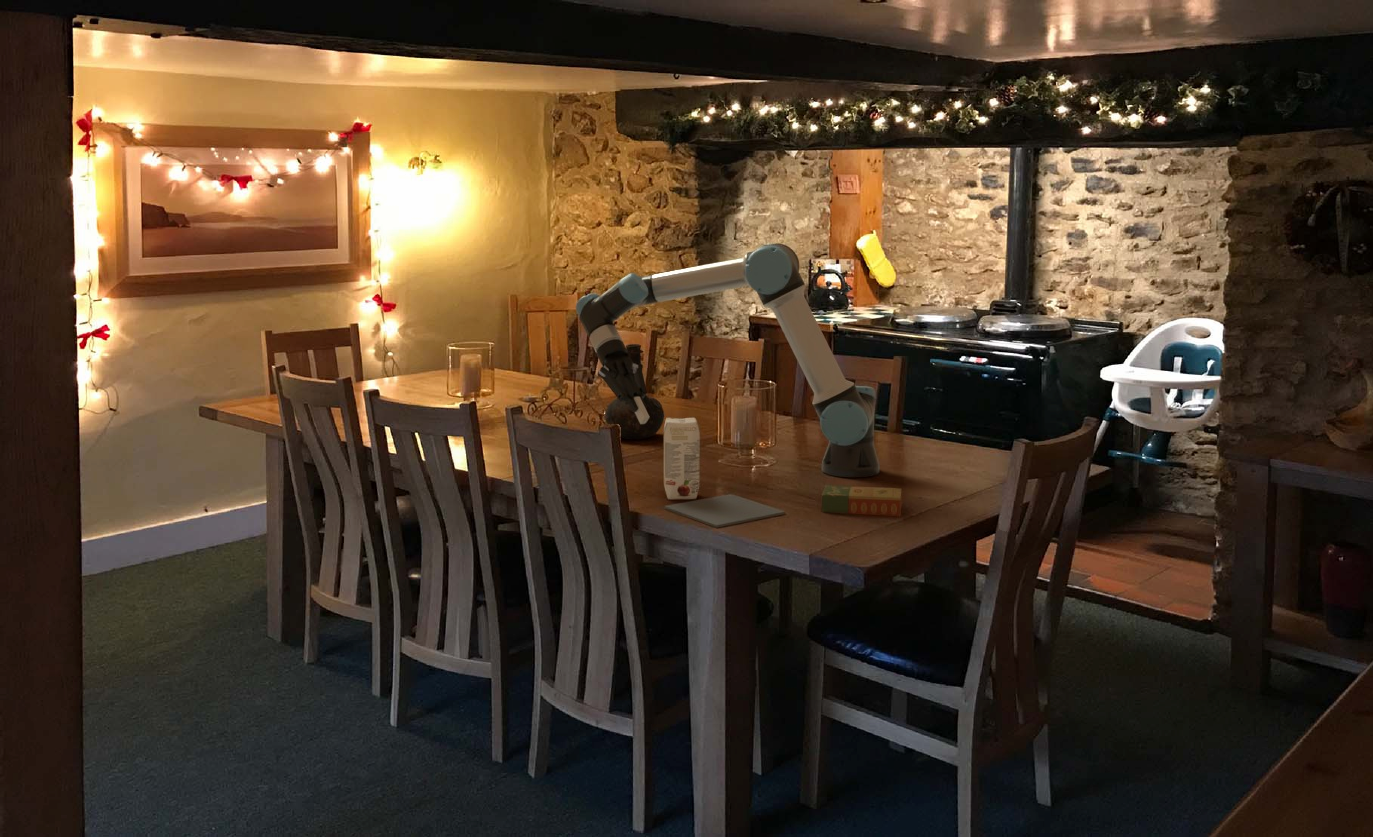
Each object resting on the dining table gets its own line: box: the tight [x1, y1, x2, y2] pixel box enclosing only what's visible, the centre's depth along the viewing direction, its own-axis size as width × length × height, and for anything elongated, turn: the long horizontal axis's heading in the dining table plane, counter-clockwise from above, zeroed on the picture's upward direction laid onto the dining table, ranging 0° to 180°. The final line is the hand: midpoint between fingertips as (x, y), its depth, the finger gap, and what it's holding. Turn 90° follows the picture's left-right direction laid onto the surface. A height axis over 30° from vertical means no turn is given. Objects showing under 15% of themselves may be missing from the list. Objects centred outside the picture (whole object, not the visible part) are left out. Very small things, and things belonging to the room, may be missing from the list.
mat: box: [663, 493, 786, 529], centre depth 278 cm, size 20×20×1 cm
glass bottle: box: [604, 343, 665, 440], centre depth 360 cm, size 18×18×28 cm
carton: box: [820, 484, 903, 517], centre depth 281 cm, size 10×18×5 cm, turn 78°
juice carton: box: [662, 417, 701, 500], centre depth 290 cm, size 8×9×19 cm
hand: (645, 420), depth 300 cm, fingers closed
